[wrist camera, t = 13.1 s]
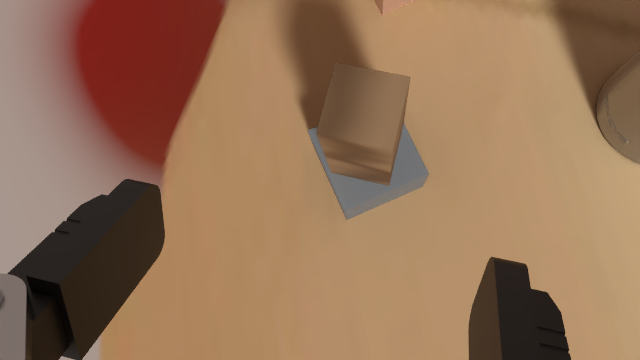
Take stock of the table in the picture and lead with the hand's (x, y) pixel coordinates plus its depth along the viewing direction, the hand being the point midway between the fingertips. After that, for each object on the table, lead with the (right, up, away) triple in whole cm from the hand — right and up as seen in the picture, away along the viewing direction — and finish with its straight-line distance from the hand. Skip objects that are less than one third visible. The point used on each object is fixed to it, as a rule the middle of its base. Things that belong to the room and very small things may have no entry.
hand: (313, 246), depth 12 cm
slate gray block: (+4, +3, +32) cm, 32 cm away
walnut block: (+4, +4, +27) cm, 28 cm away
